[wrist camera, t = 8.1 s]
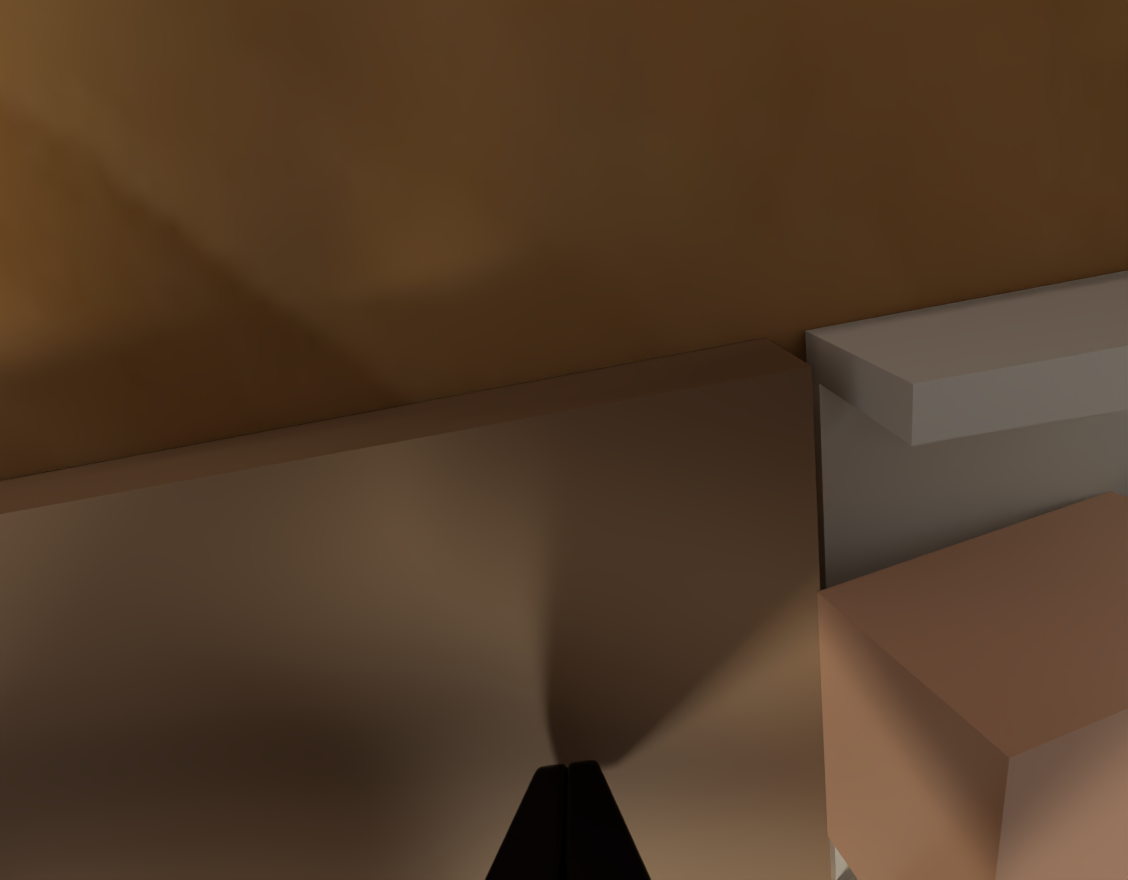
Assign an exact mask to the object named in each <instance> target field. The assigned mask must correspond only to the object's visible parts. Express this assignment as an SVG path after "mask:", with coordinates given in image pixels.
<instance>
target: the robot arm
mask: <svg viewBox="0 0 1128 880" xmlns="http://www.w3.org/2000/svg"><path fill="white" fill-rule="evenodd" d="M485 880H651V878H650V875H649V873H648V871H647V869H646V867H645V864H644V862H643V860H642V858H641V856H640V853H639V851H638V849H637V847H636V845H635V842H634V840H633V838H632V836H631V834H630V831H629V829H628V827H627V825H626V823H625V820H624V818H623V816H622V814H621V812H620V809H619V807H618V805H617V803H616V801H615V798H614V796H613V794H612V792H611V790H610V787H609V785H608V783H607V781H606V779H605V776H604V774H603V772H602V770H601V768H600V766H599V764H598V762H597V761H596V760H585V761H578V762H572V763H570V764H569V766H568V767H567V766H566V765H565V764H555V765H548V766H541V767H539V768H538V769H537V770H536V771H535V773H534V775H533V777H532V779H531V781H530V784H529V786H528V788H527V790H526V792H525V794H524V796H523V799H522V801H521V803H520V805H519V807H518V809H517V812H516V814H515V816H514V818H513V820H512V822H511V824H510V827H509V829H508V831H507V833H506V835H505V837H504V839H503V842H502V844H501V846H500V848H499V850H498V852H497V854H496V857H495V859H494V861H493V863H492V865H491V867H490V869H489V872H488V874H487V876H486V878H485Z"/></svg>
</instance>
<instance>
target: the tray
mask: <svg viewBox="0 0 1128 880" xmlns="http://www.w3.org/2000/svg"><path fill="white" fill-rule="evenodd" d="M805 339H806V363H807V364H808V365H810V366H812V389H813V415H814V441H815V467H816V494H817V520H818V546H819V572H820V591H821V590H824V589H827V588H830V587H833V586H836V585H839V584H842V583H844V582H847V581H850V580H853V579H856V578H859V577H862V576H865V575H868V574H871V573H874V572H877V571H880V570H882V569H885V568H888V567H891V566H894V565H897V564H900V563H903V562H906V561H909V560H912V559H915V558H917V557H920V556H923V555H926V554H929V553H932V552H935V551H938V550H941V549H944V548H947V547H950V546H952V545H955V544H958V543H961V542H964V541H967V540H970V539H973V538H976V537H979V536H982V535H985V534H987V533H990V532H993V531H996V530H999V529H1002V528H1005V527H1008V526H1011V525H1014V524H1017V523H1020V522H1023V521H1025V520H1028V519H1031V518H1034V517H1037V516H1040V515H1043V514H1046V513H1049V512H1052V511H1055V510H1058V509H1060V508H1063V507H1066V506H1069V505H1072V504H1075V503H1078V502H1081V501H1084V500H1087V499H1090V498H1093V497H1095V496H1098V495H1101V494H1104V493H1107V492H1110V491H1112V492H1115V493H1118V494H1120V495H1123V496H1126V497H1128V270H1127V271H1121V272H1116V273H1111V274H1105V275H1100V276H1095V277H1089V278H1084V279H1078V280H1073V281H1068V282H1062V283H1057V284H1052V285H1046V286H1041V287H1036V288H1030V289H1025V290H1020V291H1014V292H1009V293H1004V294H998V295H993V296H988V297H982V298H977V299H971V300H966V301H961V302H955V303H950V304H945V305H939V306H934V307H929V308H923V309H918V310H913V311H907V312H902V313H897V314H891V315H886V316H881V317H875V318H870V319H864V320H859V321H854V322H848V323H843V324H838V325H832V326H827V327H822V328H816V329H811V330H806V331H805ZM830 858H831V880H858V879H857V877H856V876H855V875H854V873H853V872H852V870H851V869H850V867H849V866H848V865H847V863H846V862H845V860H844V859H843V857H842V856H841V855H840V853H839V852H838V850H837V849H836V847H835V846H834V845H833V843H832V842H831V840H830Z"/></svg>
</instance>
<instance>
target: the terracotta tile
mask: <svg viewBox="0 0 1128 880" xmlns="http://www.w3.org/2000/svg"><path fill="white" fill-rule="evenodd" d="M817 602H818V625H819V648H820V671H821V694H822V717H823V740H824V763H825V786H826V809H827V833H828V837H829V839H830V840H831V842H832V843H833V845H834V846H835V847H836V849H837V850H838V852H839V853H840V855H841V856H842V857H843V859H844V860H845V862H846V863H847V865H848V866H849V867H850V869H851V870H852V872H853V873H854V875H855V876H856V877H857V879H858V880H1128V497H1126V496H1123V495H1120V494H1118V493H1115V492H1112V491H1110V492H1107V493H1104V494H1101V495H1098V496H1095V497H1093V498H1090V499H1087V500H1084V501H1081V502H1078V503H1075V504H1072V505H1069V506H1066V507H1063V508H1060V509H1058V510H1055V511H1052V512H1049V513H1046V514H1043V515H1040V516H1037V517H1034V518H1031V519H1028V520H1025V521H1023V522H1020V523H1017V524H1014V525H1011V526H1008V527H1005V528H1002V529H999V530H996V531H993V532H990V533H987V534H985V535H982V536H979V537H976V538H973V539H970V540H967V541H964V542H961V543H958V544H955V545H952V546H950V547H947V548H944V549H941V550H938V551H935V552H932V553H929V554H926V555H923V556H920V557H917V558H915V559H912V560H909V561H906V562H903V563H900V564H897V565H894V566H891V567H888V568H885V569H882V570H880V571H877V572H874V573H871V574H868V575H865V576H862V577H859V578H856V579H853V580H850V581H847V582H844V583H842V584H839V585H836V586H833V587H830V588H827V589H824V590H821V591H818V592H817Z"/></svg>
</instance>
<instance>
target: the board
mask: <svg viewBox="0 0 1128 880" xmlns="http://www.w3.org/2000/svg"><path fill="white" fill-rule="evenodd" d="M818 591H820V572H819V546H818V520H817V494H816V467H815V441H814V415H813V389H812V366H810V365H808V364H807V363H805V362H804V361H802V360H801V359H799V358H797V357H796V356H794V355H793V354H791V353H789V352H788V351H786V350H785V349H783V348H781V347H780V346H778V345H777V344H775V343H773V342H772V341H770V340H769V339H767V338H763V339H757V340H752V341H747V342H741V343H736V344H731V345H725V346H720V347H715V348H709V349H704V350H699V351H693V352H688V353H683V354H677V355H672V356H667V357H661V358H656V359H650V360H645V361H640V362H634V363H629V364H624V365H618V366H613V367H608V368H602V369H597V370H592V371H586V372H581V373H576V374H570V375H565V376H560V377H554V378H549V379H543V380H538V381H533V382H527V383H522V384H517V385H511V386H506V387H501V388H495V389H490V390H485V391H479V392H474V393H469V394H463V395H458V396H453V397H447V398H442V399H436V400H431V401H426V402H420V403H415V404H410V405H404V406H399V407H394V408H388V409H383V410H378V411H372V412H367V413H362V414H356V415H351V416H346V417H340V418H335V419H329V420H324V421H319V422H313V423H308V424H303V425H297V426H292V427H287V428H281V429H276V430H271V431H265V432H260V433H255V434H249V435H244V436H239V437H233V438H228V439H222V440H217V441H212V442H206V443H201V444H196V445H190V446H185V447H180V448H174V449H169V450H164V451H158V452H153V453H148V454H142V455H137V456H131V457H126V458H121V459H115V460H110V461H105V462H99V463H94V464H89V465H83V466H78V467H73V468H67V469H62V470H57V471H51V472H46V473H41V474H35V475H30V476H24V477H19V478H14V479H8V480H3V481H0V880H485V878H486V876H487V874H488V872H489V869H490V867H491V865H492V863H493V861H494V859H495V857H496V854H497V852H498V850H499V848H500V846H501V844H502V842H503V839H504V837H505V835H506V833H507V831H508V829H509V827H510V824H511V822H512V820H513V818H514V816H515V814H516V812H517V809H518V807H519V805H520V803H521V801H522V799H523V796H524V794H525V792H526V790H527V788H528V786H529V784H530V781H531V779H532V777H533V775H534V773H535V771H536V770H537V769H538V768H539V767H541V766H548V765H555V764H565V765H566V766H567V767H568V766H569V764H570V763H572V762H578V761H585V760H596V761H597V762H598V764H599V766H600V768H601V770H602V772H603V774H604V776H605V779H606V781H607V783H608V785H609V787H610V790H611V792H612V794H613V796H614V798H615V801H616V803H617V805H618V807H619V809H620V812H621V814H622V816H623V818H624V820H625V823H626V825H627V827H628V829H629V831H630V834H631V836H632V838H633V840H634V842H635V845H636V847H637V849H638V851H639V853H640V856H641V858H642V860H643V862H644V864H645V867H646V869H647V871H648V873H649V875H650V878H651V880H831V858H830V839H829V837H828V833H827V809H826V786H825V763H824V740H823V717H822V694H821V671H820V648H819V625H818V602H817V592H818Z"/></svg>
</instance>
